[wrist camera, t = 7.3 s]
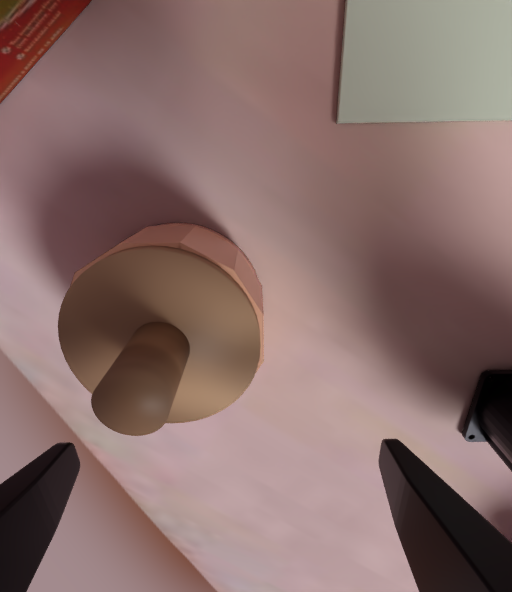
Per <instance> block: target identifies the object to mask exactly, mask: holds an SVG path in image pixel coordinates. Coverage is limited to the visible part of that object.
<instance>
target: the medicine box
mask: <svg viewBox="0 0 512 592" xmlns="http://www.w3.org/2000/svg"><path fill="white" fill-rule="evenodd" d="M91 1H92V0H0V103H1V102H2V101H3V100H4V99H5V98H6V97H7V95H8V94H9V93H10V92H11V91H12V90H13V89H14V88H15V86H16V85H17V84H18V83H19V82H20V81H21V80H22V79H23V77H24V76H25V75H26V74H27V73H28V71H29V70H30V69H31V68H32V67H33V66H34V65H35V64H36V62H37V61H38V60H39V59H40V58H41V57H42V56H43V55H44V54H45V53H46V51H47V50H48V49H49V48H50V47H51V46H52V45H53V44H54V42H55V41H56V40H57V39H58V38H59V37H60V36H61V35H62V34H63V32H64V31H65V30H66V29H67V28H68V27H69V26H70V25H71V23H72V22H73V21H74V20H75V19H76V18H77V17H78V16H79V14H80V13H81V12H82V11H83V10H84V9H85V8H86V6H87V5H88V4H89V3H90V2H91Z"/></svg>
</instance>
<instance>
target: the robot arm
mask: <svg viewBox="0 0 512 592" xmlns="http://www.w3.org/2000/svg"><path fill="white" fill-rule="evenodd" d="M462 436H463V437H464V438H465V440H466V441H468V442H488V443H489V444H490V446H491V447H492V448H493V449H494V451H495V452H496V453H497V454H498V455H499V457H500V458H501V459H502V460H503V461H504V463H505V464H506V465H507V466H508V467H509V469H510V470H511V471H512V370H489V371H485V372H484V373H482V375H481V377H480V380H479V383H478V386H477V389H476V392H475V395H474V398H473V401H472V404H471V408H470V411H469V414H468V417H467V420H466V423H465V426H464V429H463V432H462ZM379 468H380V472H381V475H382V479H383V483H384V487H385V490H386V494H387V498H388V502H389V505H390V509H391V513H392V517H393V520H394V524H395V527H396V530H397V533H398V536H399V539H400V541H401V544H402V547H403V549H404V552H405V555H406V557H407V560H408V563H409V565H410V568H411V571H412V573H413V576H414V579H415V581H416V584H417V587H418V590H419V592H512V543H511V542H510V541H509V540H508V539H507V538H506V537H505V536H504V535H502V534H501V533H500V532H499V531H498V530H497V529H496V528H495V527H494V526H493V525H491V524H490V523H489V522H488V521H487V520H486V519H485V518H484V517H483V516H482V515H480V514H479V513H478V512H477V511H476V510H475V509H474V508H473V507H472V506H471V505H470V504H468V503H467V502H466V501H465V500H464V499H463V498H462V497H461V496H460V495H459V494H457V493H456V492H455V491H454V490H453V489H452V488H451V487H450V486H449V485H448V484H447V483H445V482H444V481H443V480H442V479H441V478H440V477H439V476H438V475H437V474H436V473H434V472H433V471H432V470H431V469H430V468H429V467H428V466H427V465H426V464H425V463H424V462H422V461H421V460H420V459H419V458H418V457H417V456H416V455H415V454H414V453H413V452H411V451H410V450H409V449H408V448H407V447H406V446H405V445H404V444H403V443H402V442H401V441H399V440H398V439H383V440H382V443H381V449H380V455H379ZM79 469H80V461H79V458H78V455H77V452H76V449H75V446H74V444H73V443H70V442H69V443H57V444H55V445H54V446H52V447H51V448H50V449H48V450H47V451H45V452H44V453H43V454H41V455H40V456H39V457H37V458H36V459H35V460H33V461H32V462H30V463H29V464H28V465H26V466H25V467H24V468H22V469H21V470H19V471H18V472H17V473H15V474H14V475H13V476H11V477H10V478H9V479H7V480H6V481H4V482H3V483H2V484H0V592H26V591H27V589H28V587H29V585H30V583H31V581H32V579H33V577H34V575H35V573H36V571H37V569H38V567H39V565H40V562H41V560H42V558H43V556H44V554H45V552H46V550H47V548H48V546H49V544H50V542H51V540H52V538H53V536H54V533H55V531H56V529H57V527H58V524H59V522H60V519H61V517H62V514H63V512H64V509H65V507H66V504H67V501H68V499H69V496H70V494H71V491H72V488H73V486H74V483H75V480H76V478H77V475H78V472H79Z"/></svg>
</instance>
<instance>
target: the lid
mask: <svg viewBox="0 0 512 592" xmlns="http://www.w3.org/2000/svg"><path fill="white" fill-rule="evenodd" d="M58 333H59V341H60V345H61V349H62V352H63V354H64V357H65V360H66V362H67V363H68V365H69V367H70V369H71V371H72V372H73V373H74V375H75V376H76V378H77V379H78V380H79V381H80V383H81V384H82V385H83V386H84V387H85V388H86V389H87V390H88V391H89V392H90V393H91V394H92V399H91V404H92V408H93V411H94V413H95V415H96V416H97V418H98V419H99V420H100V421H101V422H102V423H103V424H104V425H105V426H107V427H108V428H110V429H112V430H113V431H116V432H118V433H121V434H125V435H131V436H141V435H147V434H150V433H153V432H155V431H157V430H158V429H160V428H161V427H162V426H163V425H164V424H165V423H184V422H190V421H196V420H199V419H203V418H206V417H209V416H211V415H214V414H216V413H218V412H220V411H222V410H223V409H225V408H227V407H228V406H229V405H231V404H232V403H234V402H235V401H236V400H237V399H238V398H239V397H240V396H241V395H242V394H243V393H244V391H245V390H246V389H247V388H248V386H249V385H250V383H251V381H252V379H253V378H254V375H255V373H256V370H257V367H258V363H259V359H260V347H261V344H260V328H259V323H258V319H257V315H256V312H255V310H254V307H253V305H252V303H251V301H250V300H249V298H248V296H247V294H246V293H245V292H244V290H243V289H242V288H241V286H240V285H239V284H238V283H237V282H236V281H235V280H234V279H233V278H232V277H231V276H230V275H229V274H228V273H227V272H226V271H224V270H223V269H222V268H221V267H219V266H218V265H216V264H215V263H213V262H211V261H210V260H208V259H206V258H204V257H202V256H199V255H197V254H195V253H192V252H189V251H186V250H183V249H179V248H173V247H168V246H153V245H150V246H138V247H133V248H128V249H124V250H121V251H119V252H116V253H113V254H111V255H109V256H107V257H105V258H104V259H102V260H100V261H98V262H97V263H95V264H94V265H92V266H91V267H90V268H88V269H87V270H86V271H84V272H83V273H82V274H81V275H80V276H79V277H78V278H77V279H76V280H75V281H74V282H73V284H72V285H71V287H70V288H69V290H68V291H67V293H66V295H65V297H64V300H63V302H62V305H61V309H60V312H59V320H58Z"/></svg>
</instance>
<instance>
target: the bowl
mask: <svg viewBox="0 0 512 592" xmlns="http://www.w3.org/2000/svg"><path fill="white" fill-rule="evenodd" d="M150 245H153V246H168V247H173V248H179V249H183V250H186V251H189V252H192V253H195V254H197V255H199V256H202V257H204V258H206V259H208V260H210V261H211V262H213V263H215V264H216V265H218V266H219V267H221V268H222V269H223V270H224V271H226V272H227V273H228V274H229V275H230V276H231V277H232V278H233V279H234V280H235V281H236V282H237V283H238V284H239V285H240V286H241V288H242V289H243V290H244V292H245V293H246V294H247V296H248V298H249V300H250V301H251V303H252V305H253V307H254V310H255V312H256V315H257V319H258V323H259V328H260V344H261V347H260V359H259V363H258V367H257V370H258V369H259V367H260V366H261V364H262V363H263V361H264V334H263V297H262V285H261V283H260V282H259V279H258V277H257V274H256V271H255V270H254V268H253V266H252V264H251V262H250V261H249V259H248V258H247V257H246V255H245V254H244V253H243V252H242V251H241V250H240V249H239V248H238V246H236V245H235V244H234V243H233V242H232V241H230V240H229V239H228V238H226V237H224V236H223V235H221V234H220V233H218V232H215V231H213V230H211V229H209V228H206V227H203V226H199V225H195V224H189V223H165V224H161V225H156V226H147V227H146V228H144V229H142V230H141V231H139V232H137V233H136V234H134V235H133V236H131V237H129V238H128V239H126V240H124V241H123V242H121V243H120V244H118V245H117V246H115V247H113V248H112V249H110V250H109V251H107V252H106V253H104V254H103V255H101V256H100V257H98V258H97V259H95V260H94V261H92V262H91V263H89V264H88V265H86V266H84V267H83V268H81V269H80V270H78V271H77V272H75V274H74V277H73V280H72V283H71V285H72V284H73V282H74V281H75V280H76V279H77V278H78V277H79V276H80V275H81V274H82V273H83V272H84V271H86V270H87V269H88V268H90V267H91V266H92V265H94V264H95V263H97V262H98V261H100V260H102V259H104V258H105V257H107V256H109V255H111V254H113V253H116V252H119V251H121V250H124V249H128V248H133V247H138V246H150ZM70 287H71V286H70ZM257 370H256V372H257Z"/></svg>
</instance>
